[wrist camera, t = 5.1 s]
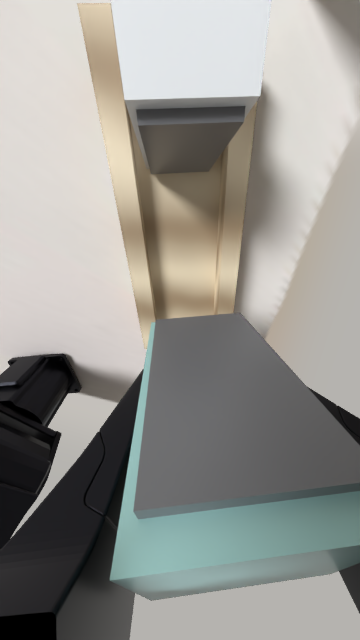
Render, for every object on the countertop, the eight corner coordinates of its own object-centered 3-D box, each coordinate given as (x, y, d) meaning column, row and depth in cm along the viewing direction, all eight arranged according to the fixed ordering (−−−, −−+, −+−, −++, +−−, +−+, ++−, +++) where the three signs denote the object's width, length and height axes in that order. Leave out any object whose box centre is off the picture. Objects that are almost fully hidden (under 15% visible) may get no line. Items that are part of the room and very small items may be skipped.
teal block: (233, 371, 10) (329, 574, 4) (160, 378, 10) (151, 599, 4) (241, 307, 8) (456, 526, 2) (150, 315, 8) (100, 576, 2)
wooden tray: (221, 327, 20) (230, 341, 17) (147, 333, 20) (144, 349, 17) (243, 59, 11) (268, 2, 8) (100, 62, 10) (77, 3, 8)
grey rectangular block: (211, 173, 12) (258, 112, 6) (147, 176, 12) (126, 117, 6) (213, 77, 10) (291, -174, 4) (136, 79, 10) (84, -182, 4)
